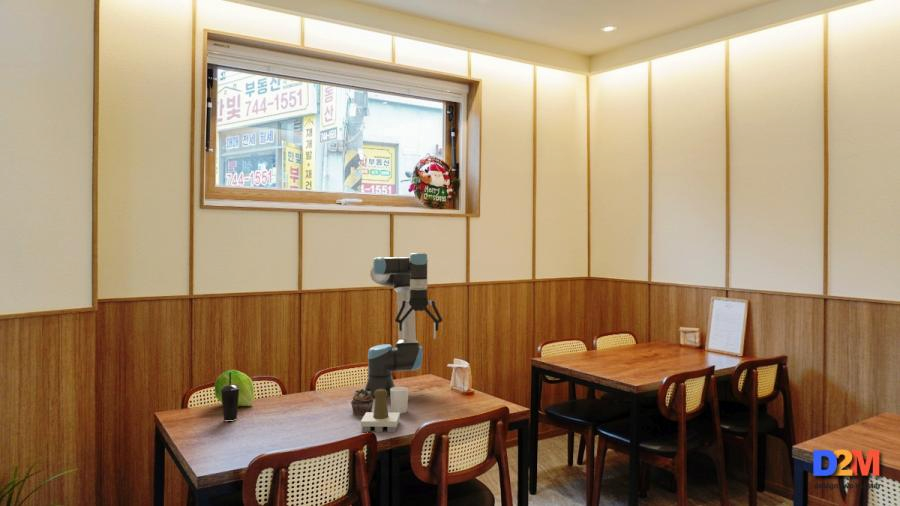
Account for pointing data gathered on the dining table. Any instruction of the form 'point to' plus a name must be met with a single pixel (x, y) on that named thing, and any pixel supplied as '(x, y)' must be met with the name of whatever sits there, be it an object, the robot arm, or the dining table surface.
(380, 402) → the cork
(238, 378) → the lettuce
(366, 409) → the cupcake
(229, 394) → the drinking cup
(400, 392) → the white cup
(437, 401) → the dining table surface
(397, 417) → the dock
